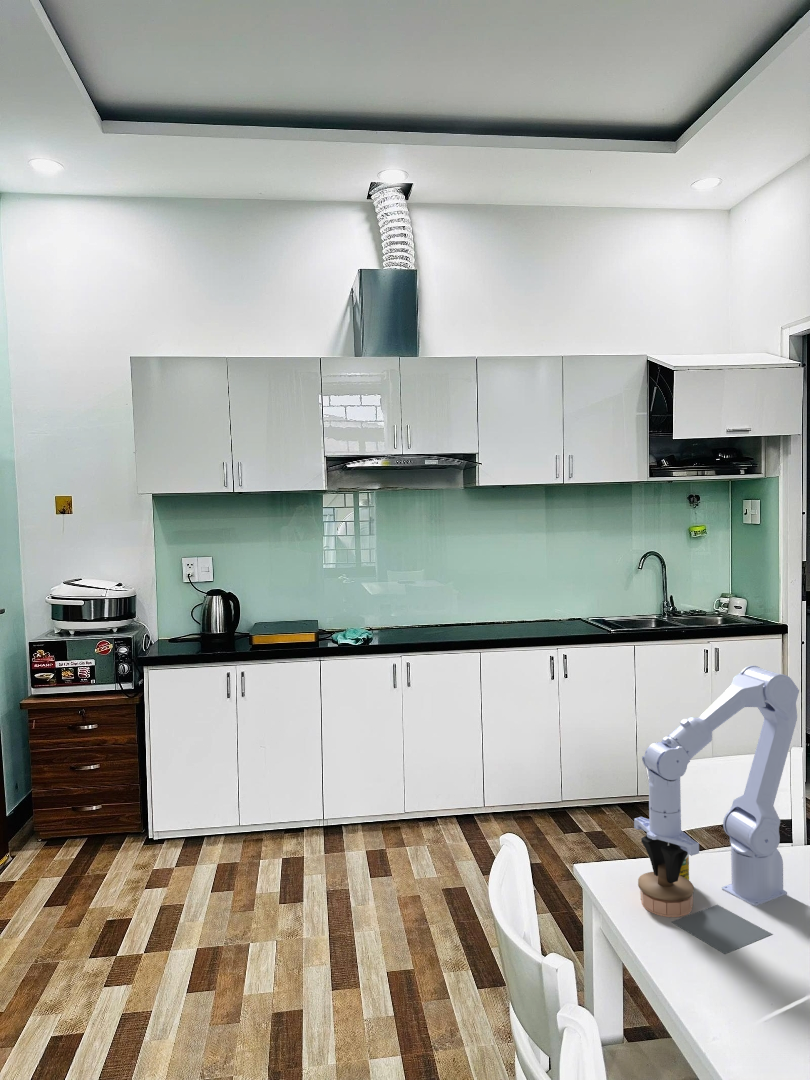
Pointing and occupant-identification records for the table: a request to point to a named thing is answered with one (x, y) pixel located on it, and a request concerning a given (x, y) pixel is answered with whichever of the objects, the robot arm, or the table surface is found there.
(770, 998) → the table surface
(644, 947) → the table surface
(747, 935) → the mat
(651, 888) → the lid
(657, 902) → the bowl
